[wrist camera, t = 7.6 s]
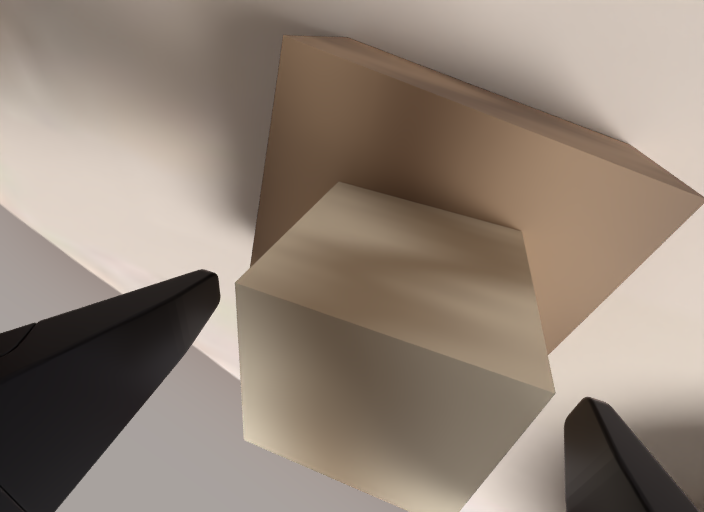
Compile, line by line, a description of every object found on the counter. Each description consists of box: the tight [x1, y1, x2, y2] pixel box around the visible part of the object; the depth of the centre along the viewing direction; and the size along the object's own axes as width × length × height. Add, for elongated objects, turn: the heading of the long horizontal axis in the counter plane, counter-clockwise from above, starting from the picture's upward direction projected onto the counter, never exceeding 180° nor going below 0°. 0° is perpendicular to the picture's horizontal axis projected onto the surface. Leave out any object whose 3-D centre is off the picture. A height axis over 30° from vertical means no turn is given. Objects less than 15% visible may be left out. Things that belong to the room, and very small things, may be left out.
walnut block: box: [250, 35, 704, 355], centre depth 13 cm, size 10×10×5 cm
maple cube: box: [235, 182, 555, 512], centre depth 9 cm, size 5×5×5 cm
